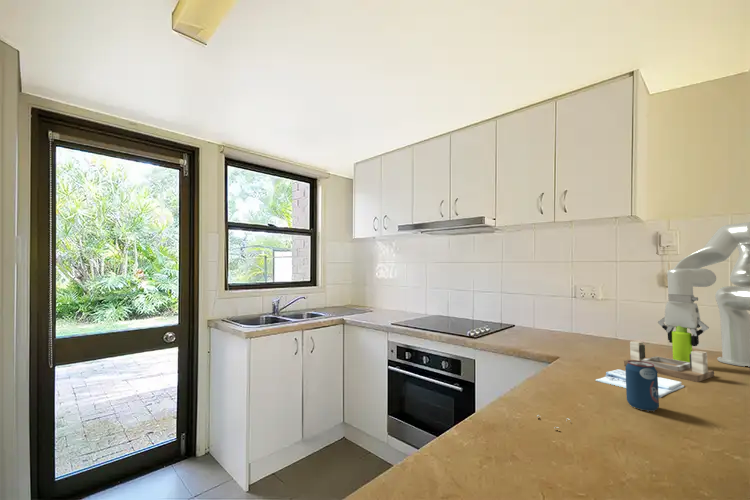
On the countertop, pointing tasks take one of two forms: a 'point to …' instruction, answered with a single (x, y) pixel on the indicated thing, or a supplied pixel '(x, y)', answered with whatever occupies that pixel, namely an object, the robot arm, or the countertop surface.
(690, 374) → the rail
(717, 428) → the countertop surface
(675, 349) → the soap dispenser
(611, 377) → the folded white towel
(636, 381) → the soda can
